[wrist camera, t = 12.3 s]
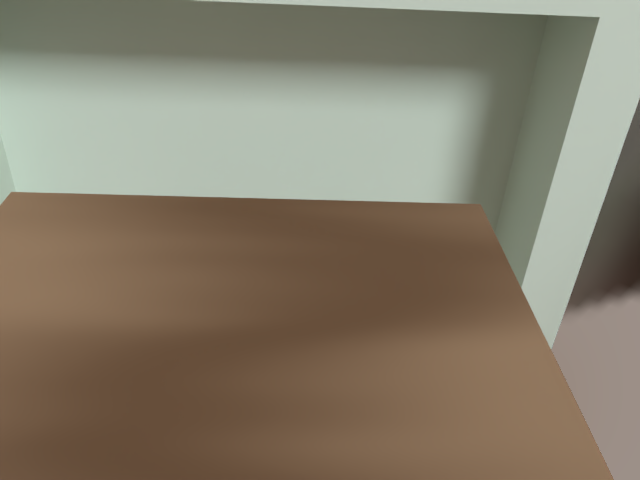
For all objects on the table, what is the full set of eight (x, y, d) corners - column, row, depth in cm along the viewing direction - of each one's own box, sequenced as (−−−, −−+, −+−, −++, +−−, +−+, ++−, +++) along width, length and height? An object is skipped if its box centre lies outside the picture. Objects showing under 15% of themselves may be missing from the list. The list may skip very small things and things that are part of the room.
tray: (614, -78, 10) (692, -57, 8) (480, 402, 17) (505, 481, 15) (-109, -113, 10) (-219, -100, 8) (45, 397, 16) (7, 478, 14)
